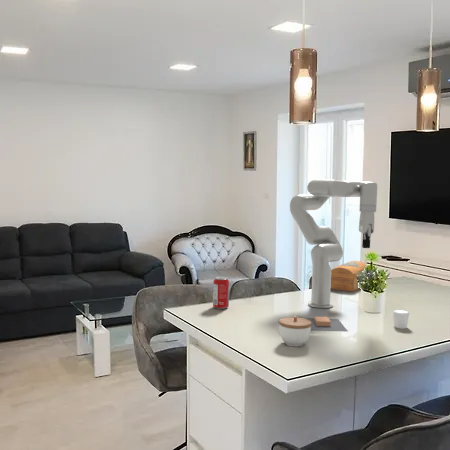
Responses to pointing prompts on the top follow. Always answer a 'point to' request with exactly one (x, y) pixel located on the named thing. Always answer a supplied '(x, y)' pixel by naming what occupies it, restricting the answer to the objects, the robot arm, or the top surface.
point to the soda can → (221, 293)
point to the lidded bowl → (294, 330)
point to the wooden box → (346, 276)
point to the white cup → (400, 318)
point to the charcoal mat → (335, 326)
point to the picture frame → (322, 321)
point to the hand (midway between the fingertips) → (366, 247)
